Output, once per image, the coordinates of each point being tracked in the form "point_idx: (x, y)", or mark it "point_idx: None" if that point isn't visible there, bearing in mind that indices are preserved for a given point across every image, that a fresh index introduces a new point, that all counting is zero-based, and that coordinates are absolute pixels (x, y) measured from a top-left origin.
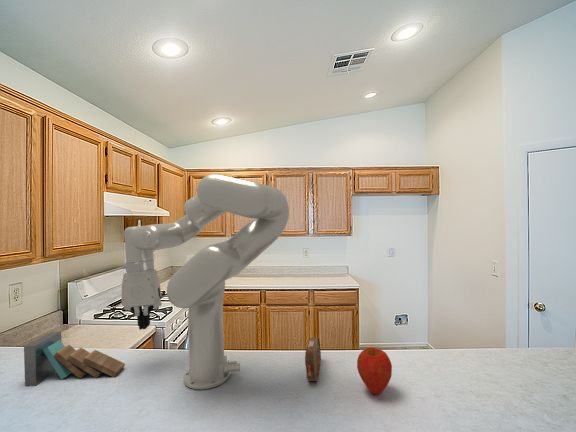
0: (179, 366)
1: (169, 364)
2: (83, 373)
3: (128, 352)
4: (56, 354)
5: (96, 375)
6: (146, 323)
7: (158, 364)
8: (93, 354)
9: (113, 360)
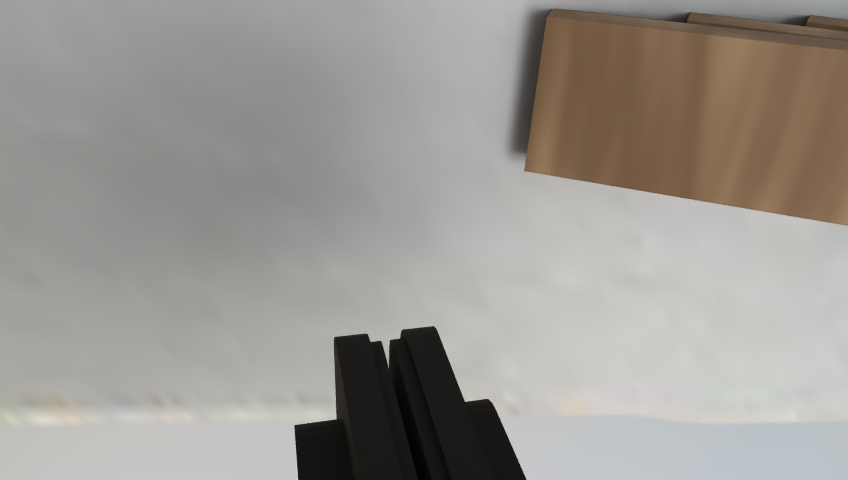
0: (2, 151)
1: (135, 194)
2: None
3: (576, 380)
4: None
5: (704, 16)
6: (325, 440)
7: (246, 200)
8: (844, 151)
9: (633, 162)
